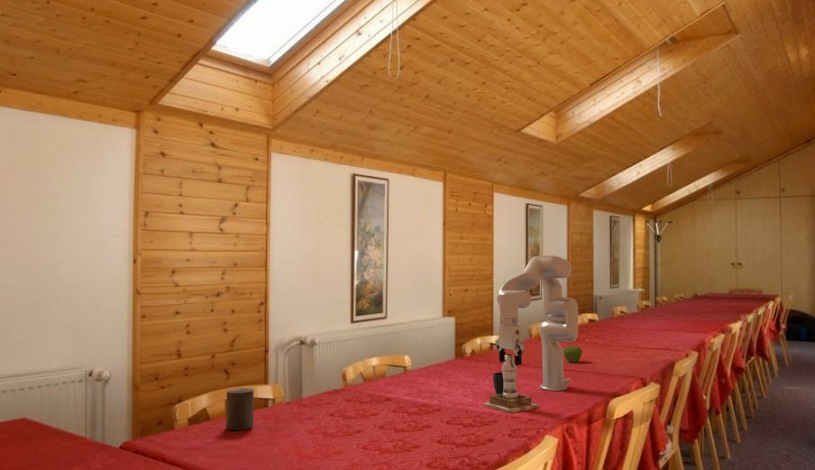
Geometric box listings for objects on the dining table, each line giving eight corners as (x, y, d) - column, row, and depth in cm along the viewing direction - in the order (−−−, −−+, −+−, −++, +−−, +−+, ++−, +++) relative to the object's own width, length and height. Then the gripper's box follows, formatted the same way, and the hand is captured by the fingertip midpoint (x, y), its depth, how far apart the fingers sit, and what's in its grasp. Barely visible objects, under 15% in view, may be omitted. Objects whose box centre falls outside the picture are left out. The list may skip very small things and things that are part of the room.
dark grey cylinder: (239, 432, 221) (239, 390, 222) (220, 429, 226) (220, 387, 227) (259, 426, 229) (259, 385, 230) (240, 423, 234) (241, 383, 235)
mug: (508, 399, 267) (508, 377, 268) (489, 395, 277) (489, 373, 277) (522, 397, 272) (521, 375, 272) (502, 392, 282) (502, 371, 282)
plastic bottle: (519, 402, 258) (518, 353, 258) (516, 406, 251) (515, 356, 252) (504, 401, 260) (502, 353, 260) (501, 405, 253) (499, 356, 254)
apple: (564, 363, 358) (563, 346, 358) (562, 360, 368) (562, 343, 369) (583, 363, 356) (582, 346, 356) (581, 360, 366) (580, 343, 367)
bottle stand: (512, 400, 266) (512, 390, 266) (538, 407, 252) (538, 397, 253) (483, 405, 258) (483, 395, 258) (508, 413, 244) (508, 402, 244)
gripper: (530, 322, 251) (531, 365, 251) (502, 319, 266) (503, 359, 266) (516, 324, 247) (517, 367, 247) (488, 320, 262) (489, 361, 262)
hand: (510, 363), depth 256 cm, fingers open, 9 cm apart
